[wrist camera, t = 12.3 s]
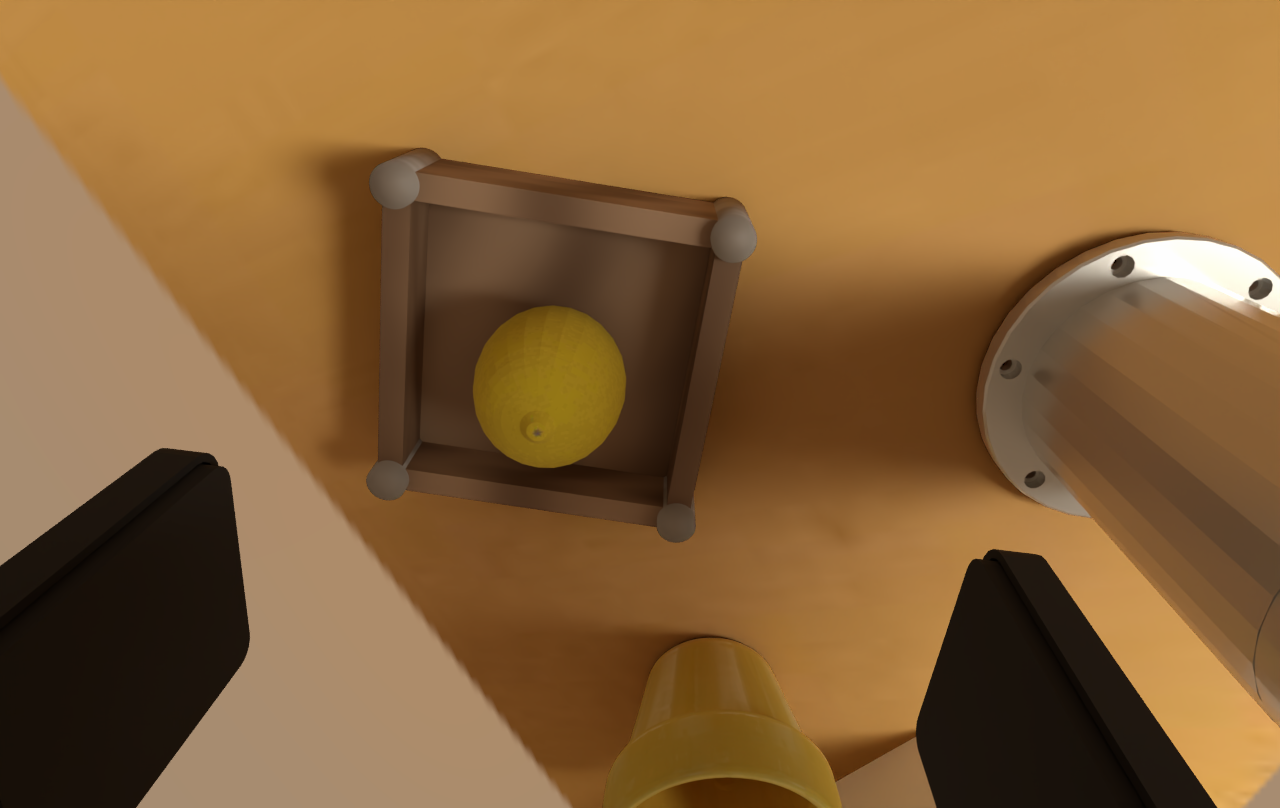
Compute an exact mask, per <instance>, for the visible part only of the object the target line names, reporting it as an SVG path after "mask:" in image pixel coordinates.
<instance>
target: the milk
mask: <svg viewBox="0 0 1280 808" xmlns="http://www.w3.org/2000/svg"><path fill="white" fill-rule="evenodd" d="M835 783H836V786H837V790H838V793H839V796H840V800H841V804H842V808H936V805H935V801H934V798H933V795H932V792H931V789H930V786H929V783H928V780H927V777H926V773H925V770H924V767H923V764H922V761H921V758H920V755H919V752H918V747H917V741H916V737H914V738H912V739H911V740H909V741H907V742H905V743H904V744H902V745H900V746H898V747H897V748H895V749H893V750H891V751H890V752H888V753H886V754H884V755H882V756H881V757H879V758H877V759H875V760H874V761H872V762H870V763H868V764H867V765H865V766H863V767H861V768H859V769H858V770H856V771H854V772H852V773H851V774H849V775H847V776H845V777H844V778H842V779H840V780H838V781H837V782H835Z"/></svg>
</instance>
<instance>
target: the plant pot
mask: <svg viewBox="0 0 1280 808" xmlns="http://www.w3.org/2000/svg"><path fill="white" fill-rule="evenodd" d="M603 808H842V804H841V800H840V796H839V793H838V790H837V786H836V783H835V780H834V776H833V773H832V770H831V768H830V765H829V763H828V761H827V760H826V758H825V756H824V755H823V753H822V752H821V751H820V749H819V748H818V747H817V746H816V745H815V744H814V743H813V742H812V741H811V740H810V739H809V738H808V737H807V736H805V735H804V734H803V733H802V731H801V729H800V727H799V725H798V723H797V721H796V719H795V717H794V715H793V713H792V711H791V709H790V707H789V705H788V703H787V700H786V698H785V696H784V694H783V692H782V690H781V688H780V686H779V684H778V682H777V679H776V677H775V675H774V673H773V671H772V670H771V668H770V666H769V664H768V663H767V662H766V661H765V659H764V658H763V657H762V656H761V655H760V654H758V653H757V652H756V651H754V650H753V649H751V648H750V647H748V646H746V645H744V644H741V643H739V642H737V641H733V640H729V639H724V638H699V639H694V640H690V641H687V642H684V643H681V644H679V645H677V646H675V647H673V648H671V649H670V650H668V651H667V652H666V653H664V654H663V655H662V656H661V657H660V658H659V659H658V660H657V662H656V663H655V664H654V666H653V668H652V670H651V672H650V675H649V678H648V681H647V684H646V688H645V691H644V695H643V698H642V702H641V705H640V708H639V712H638V715H637V718H636V722H635V725H634V728H633V732H632V735H631V738H630V741H629V743H628V744H627V745H626V747H625V748H624V749H623V750H622V751H621V752H620V754H619V755H618V757H617V758H616V760H615V761H614V763H613V765H612V767H611V770H610V772H609V775H608V778H607V782H606V787H605V792H604V800H603Z"/></svg>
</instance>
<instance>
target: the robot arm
mask: <svg viewBox="0 0 1280 808" xmlns="http://www.w3.org/2000/svg"><path fill="white" fill-rule="evenodd" d="M1115 259H1117V261H1116V263H1115V264H1114V265H1113V266H1111V265H1112V264H1113V262H1114V261H1115ZM1007 360H1008V362H1007V363H1006V365H1004V366H1002V364H1003V363H1004V362H1006V361H1007ZM976 402H977V420H978V424H979V428H980V432H981V436H982V440H983V442H984V444H985V446H986V448H987V450H988V452H989V454H990V455H991V457H992V459H993V461H994V462H995V463H996V465H997V466H998V467H999V468H1000V470H1001V471H1002V472H1003V474H1004V475H1005V476H1006V478H1007V479H1008V480H1009V481H1010V482H1011V483H1012V484H1013V485H1014V486H1015V487H1016V488H1017V489H1018V490H1019V491H1021V492H1022V493H1023V494H1024V495H1026V496H1028V497H1030V498H1031V499H1033V500H1035V501H1036V502H1038V503H1040V504H1042V505H1043V506H1045V507H1048V508H1051V509H1054V510H1057V511H1060V512H1062V513H1065V514H1068V515H1074V516H1081V517H1087V518H1093V519H1094V520H1095V522H1096V523H1097V524H1098V525H1099V526H1100V527H1101V528H1102V529H1103V531H1104V532H1105V533H1106V534H1107V535H1108V536H1109V537H1110V538H1111V540H1112V541H1113V542H1114V543H1115V544H1116V545H1117V546H1118V547H1119V549H1120V550H1121V551H1122V552H1123V553H1124V554H1125V555H1126V556H1127V558H1128V559H1129V560H1130V561H1131V562H1132V563H1133V564H1134V565H1135V567H1136V568H1137V569H1138V570H1139V571H1140V572H1141V573H1142V574H1143V576H1144V577H1145V578H1146V579H1147V580H1148V581H1149V582H1150V583H1151V585H1152V586H1153V587H1154V588H1155V589H1156V590H1157V591H1158V592H1159V594H1160V595H1161V596H1162V597H1163V598H1164V599H1165V600H1166V601H1167V602H1168V604H1169V605H1170V606H1171V607H1172V608H1173V609H1174V610H1175V611H1176V613H1177V614H1178V615H1179V616H1180V617H1181V618H1182V619H1183V620H1184V622H1185V623H1186V624H1187V625H1188V626H1189V627H1190V628H1191V629H1192V631H1193V632H1194V633H1195V634H1196V635H1197V636H1198V637H1199V638H1200V640H1201V641H1202V642H1203V643H1204V644H1205V645H1206V646H1207V647H1208V649H1209V650H1210V651H1211V652H1212V653H1213V654H1214V655H1215V656H1216V658H1217V659H1218V660H1219V661H1220V662H1221V663H1222V664H1223V665H1224V667H1225V668H1226V669H1227V670H1228V671H1229V672H1230V673H1231V674H1232V676H1233V677H1234V678H1235V679H1236V680H1237V681H1238V682H1239V683H1240V685H1241V686H1242V687H1243V688H1244V689H1245V690H1246V691H1247V692H1248V694H1249V695H1250V696H1251V697H1252V698H1253V699H1254V700H1255V701H1256V702H1257V704H1258V705H1259V706H1260V707H1261V708H1262V709H1263V710H1264V711H1265V713H1266V714H1267V715H1268V716H1269V717H1270V718H1271V719H1272V720H1273V721H1274V722H1275V723H1276V724H1277V725H1278V726H1279V727H1280V275H1278V274H1277V273H1276V272H1275V271H1274V270H1273V269H1272V268H1271V267H1270V266H1269V265H1267V264H1266V263H1265V262H1264V261H1263V260H1262V259H1260V258H1258V257H1257V256H1255V255H1253V254H1251V253H1249V252H1247V251H1245V250H1243V249H1242V248H1240V247H1238V246H1235V245H1233V244H1230V243H1227V242H1224V241H1221V240H1218V239H1215V238H1212V237H1209V236H1203V235H1197V234H1190V233H1184V232H1159V233H1145V234H1140V235H1136V236H1131V237H1126V238H1121V239H1116V240H1114V241H1111V242H1109V243H1106V244H1103V245H1101V246H1098V247H1096V248H1093V249H1091V250H1088V251H1085V252H1083V253H1082V254H1080V255H1078V256H1077V257H1075V258H1073V259H1071V260H1070V261H1068V262H1066V263H1064V264H1063V265H1061V266H1059V267H1058V268H1056V269H1055V270H1053V271H1052V272H1051V273H1050V274H1048V275H1047V276H1046V277H1045V278H1043V279H1042V280H1041V281H1040V282H1039V283H1037V284H1036V285H1035V286H1034V287H1032V288H1031V289H1030V290H1029V291H1028V292H1027V293H1026V294H1025V296H1024V297H1023V298H1022V299H1021V300H1020V301H1019V302H1018V303H1017V304H1016V306H1015V307H1014V308H1013V309H1012V310H1011V311H1010V312H1009V313H1008V315H1007V317H1006V318H1005V320H1004V321H1003V323H1002V324H1001V326H1000V328H999V329H998V331H997V332H996V334H995V335H994V337H993V339H992V341H991V343H990V346H989V348H988V351H987V353H986V355H985V358H984V360H983V363H982V365H981V370H980V375H979V380H978V385H977V390H976ZM249 641H250V632H249V624H248V616H247V608H246V600H245V592H244V584H243V577H242V568H241V560H240V552H239V543H238V536H237V527H236V519H235V511H234V503H233V495H232V487H231V480H230V475H229V472H228V471H227V469H226V468H224V467H221V466H218V462H217V461H216V459H215V457H214V456H212V455H211V454H209V453H201V452H193V451H184V450H176V449H168V448H162V449H159V450H157V451H155V452H153V453H152V454H151V455H149V456H148V457H147V458H145V459H144V460H142V461H141V462H140V463H139V464H137V465H136V466H135V467H133V468H132V469H130V470H129V471H128V472H126V473H125V474H124V475H122V476H121V477H120V478H118V479H117V480H116V481H114V482H113V483H111V484H110V485H109V486H107V487H106V488H105V489H103V490H102V491H101V492H99V493H98V494H97V495H95V496H94V497H93V498H92V499H90V500H89V501H87V502H86V503H85V504H83V505H82V506H81V507H79V508H78V509H76V510H75V511H74V512H72V513H71V514H70V515H68V516H67V517H66V518H64V519H63V520H62V521H60V522H59V523H58V524H56V525H55V526H54V527H52V528H51V529H49V530H48V531H47V532H45V533H44V534H43V535H41V536H40V537H39V538H37V539H36V540H35V541H33V542H32V543H31V544H29V545H28V546H27V547H25V548H24V549H23V550H21V551H20V552H19V553H17V554H16V555H15V556H13V557H12V558H11V559H9V560H8V561H6V562H5V563H4V564H2V565H1V566H0V808H136V807H137V806H138V804H139V803H140V802H141V800H142V799H143V798H144V796H145V795H146V793H147V792H148V791H149V789H150V788H151V787H152V785H153V784H154V783H155V781H156V780H157V779H158V777H159V776H160V774H161V773H162V772H163V770H164V769H165V768H166V766H167V765H168V764H169V762H170V761H171V760H172V758H173V757H174V756H175V754H176V753H177V752H178V750H179V749H180V747H181V746H182V745H183V743H184V742H185V741H186V739H187V738H188V737H189V735H190V734H191V732H192V731H193V730H194V728H195V727H196V726H197V724H198V723H199V722H200V720H201V719H202V717H203V716H204V715H205V713H206V712H207V711H208V709H209V708H210V707H211V705H212V704H213V702H214V701H215V700H216V699H217V697H218V696H219V694H220V693H221V692H222V690H223V689H224V688H225V686H226V685H227V684H228V682H229V681H230V680H231V678H232V677H233V676H234V674H235V673H236V671H237V670H238V669H239V667H240V666H241V664H242V663H243V661H244V659H245V656H246V654H247V651H248V647H249ZM916 741H917V747H918V752H919V755H920V758H921V761H922V764H923V767H924V770H925V773H926V777H927V780H928V783H929V786H930V789H931V792H932V795H933V798H934V801H935V805H936V808H1217V807H1216V805H1215V804H1214V802H1213V801H1212V799H1211V798H1210V796H1209V795H1208V794H1207V792H1206V791H1205V789H1204V788H1203V786H1202V785H1201V784H1200V782H1199V781H1198V779H1197V778H1196V776H1195V775H1194V773H1193V772H1192V771H1191V769H1190V768H1189V766H1188V765H1187V763H1186V762H1185V760H1184V759H1183V758H1182V756H1181V755H1180V753H1179V752H1178V750H1177V749H1176V747H1175V746H1174V745H1173V743H1172V742H1171V740H1170V739H1169V737H1168V736H1167V734H1166V733H1165V732H1164V730H1163V729H1162V727H1161V726H1160V724H1159V723H1158V721H1157V720H1156V719H1155V717H1154V716H1153V714H1152V713H1151V711H1150V710H1149V708H1148V707H1147V706H1146V704H1145V703H1144V701H1143V700H1142V698H1141V697H1140V695H1139V694H1138V693H1137V691H1136V690H1135V688H1134V687H1133V685H1132V684H1131V682H1130V681H1129V680H1128V678H1127V677H1126V675H1125V674H1124V672H1123V671H1122V669H1121V668H1120V667H1119V665H1118V664H1117V662H1116V661H1115V659H1114V658H1113V656H1112V655H1111V654H1110V652H1109V651H1108V649H1107V648H1106V646H1105V645H1104V643H1103V642H1102V641H1101V639H1100V638H1099V636H1098V635H1097V633H1096V632H1095V630H1094V629H1093V628H1092V626H1091V625H1090V623H1089V622H1088V620H1087V619H1086V617H1085V616H1084V615H1083V613H1082V612H1081V610H1080V609H1079V607H1078V606H1077V604H1076V603H1075V602H1074V600H1073V599H1072V597H1071V596H1070V594H1069V593H1068V591H1067V590H1066V589H1065V587H1064V586H1063V584H1062V583H1061V581H1060V580H1059V578H1058V577H1057V576H1056V574H1055V573H1054V571H1053V570H1052V568H1051V567H1050V565H1049V564H1048V563H1047V561H1046V560H1045V559H1044V558H1043V557H1042V556H1040V555H1036V554H1029V553H1020V552H1012V551H1004V550H996V549H992V550H990V551H988V552H987V554H986V555H985V556H984V558H983V560H982V559H974V560H972V561H971V563H970V564H969V566H968V568H967V571H966V574H965V577H964V580H963V583H962V586H961V589H960V592H959V595H958V598H957V601H956V604H955V607H954V610H953V613H952V616H951V619H950V622H949V626H948V629H947V632H946V635H945V638H944V641H943V644H942V647H941V650H940V653H939V656H938V659H937V662H936V665H935V668H934V671H933V674H932V677H931V680H930V683H929V686H928V689H927V692H926V695H925V698H924V701H923V704H922V707H921V710H920V713H919V716H918V720H917V727H916Z"/></svg>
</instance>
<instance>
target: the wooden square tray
mask: <svg viewBox="0 0 1280 808" xmlns="http://www.w3.org/2000/svg"><path fill="white" fill-rule="evenodd" d="M369 186H370V191H371V193H372V195H373V197H374V198H375V200H376V201H377V202H378V203H379V204H381V205H382V248H381V310H380V372H379V434H378V461H377V462H376V463H375V465H374V466H373V468H372V469H371V471H370V472H369V473H368V475H367V479H366V482H367V486H368V489H369V490H370V492H371V493H372V494H373V495H375V496H376V497H378V498H380V499H383V500H395V499H397V498H399V497H400V496H402V494H403V493H404V491H405V490H409V491H415V492H422V493H429V494H436V495H443V496H449V497H456V498H463V499H470V500H476V501H483V502H490V503H497V504H504V505H510V506H517V507H524V508H531V509H538V510H544V511H551V512H558V513H565V514H571V515H578V516H585V517H592V518H599V519H605V520H612V521H619V522H626V523H633V524H639V525H646V526H653V527H657V530H658V533H659V534H660V536H661V537H662V538H664V539H665V540H667V541H670V542H675V543H677V542H683V541H686V540H687V539H689V538H690V537H691V536H692V535H693V534H694V531H695V527H696V525H695V506H694V490H695V485H696V480H697V475H698V470H699V466H700V461H701V456H702V451H703V446H704V442H705V437H706V432H707V427H708V423H709V418H710V413H711V408H712V403H713V399H714V394H715V389H716V384H717V380H718V375H719V370H720V365H721V360H722V356H723V351H724V346H725V341H726V336H727V332H728V327H729V322H730V317H731V313H732V308H733V303H734V298H735V293H736V289H737V284H738V279H739V274H740V269H741V265H742V261H744V260H745V259H747V258H748V257H749V256H750V255H751V254H752V253H753V251H754V250H755V247H756V244H757V235H756V232H755V229H754V227H753V225H752V223H751V220H750V218H749V216H748V214H747V212H746V210H745V207H744V206H743V204H742V203H741V202H740V201H738V200H737V199H734V198H731V197H724V198H720V199H718V200H716V201H715V202H707V201H701V200H694V199H688V198H682V197H676V196H670V195H663V194H657V193H651V192H645V191H639V190H632V189H626V188H620V187H614V186H607V185H601V184H595V183H589V182H583V181H576V180H570V179H564V178H558V177H552V176H545V175H539V174H533V173H527V172H520V171H514V170H508V169H502V168H496V167H489V166H483V165H477V164H471V163H465V162H458V161H452V160H446V159H441V158H440V157H439V155H438V154H437V153H435V152H434V151H432V150H430V149H427V148H418V149H415V150H412V151H410V152H408V153H405V154H403V155H400V156H398V157H396V158H393V159H391V160H389V161H386V162H384V163H381V164H379V165H378V166H376V167H375V168H374V169H373V171H372V173H371V175H370V179H369ZM552 305H554V306H562V307H569V308H572V309H575V310H578V311H580V312H583V313H585V314H587V315H589V316H590V317H591V318H593V319H594V320H596V321H597V322H599V323H600V324H601V325H602V326H603V327H604V328H605V330H606V331H607V332H608V333H609V334H610V335H611V337H612V338H613V339H614V341H615V343H616V345H617V347H618V349H619V351H620V353H621V355H622V358H623V363H624V369H625V374H626V390H625V400H624V404H623V407H622V410H621V413H620V415H619V418H618V421H617V423H616V425H615V427H614V428H613V429H612V431H611V432H610V434H609V435H608V436H607V438H606V439H605V440H604V442H603V443H602V444H601V445H600V446H599V447H598V448H596V449H595V450H594V451H593V452H591V453H590V454H589V455H588V456H586V457H584V458H582V459H580V460H578V461H576V462H574V463H572V464H570V465H565V466H560V467H556V468H538V467H534V466H529V465H525V464H521V463H519V462H517V461H515V460H513V459H511V458H509V457H507V456H506V455H505V454H504V453H502V452H501V451H500V450H499V449H497V448H496V447H495V446H494V445H493V444H492V442H491V441H490V440H489V438H488V437H487V436H486V435H485V433H484V431H483V429H482V427H481V425H480V423H479V420H478V418H477V415H476V411H475V404H474V398H473V383H474V375H475V368H476V364H477V362H478V359H479V357H480V355H481V352H482V350H483V348H484V345H485V344H486V342H487V341H488V340H489V339H490V337H491V336H492V335H493V334H494V332H495V331H496V330H497V329H498V328H499V327H500V326H501V325H502V324H504V323H505V322H506V321H508V320H509V319H511V318H512V317H513V316H515V315H516V314H518V313H521V312H524V311H526V310H529V309H532V308H534V307H542V306H552Z"/></svg>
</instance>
